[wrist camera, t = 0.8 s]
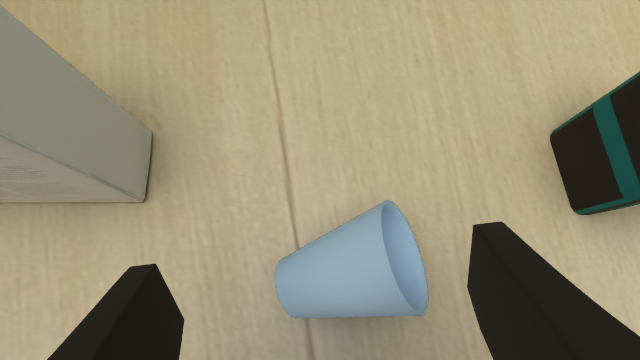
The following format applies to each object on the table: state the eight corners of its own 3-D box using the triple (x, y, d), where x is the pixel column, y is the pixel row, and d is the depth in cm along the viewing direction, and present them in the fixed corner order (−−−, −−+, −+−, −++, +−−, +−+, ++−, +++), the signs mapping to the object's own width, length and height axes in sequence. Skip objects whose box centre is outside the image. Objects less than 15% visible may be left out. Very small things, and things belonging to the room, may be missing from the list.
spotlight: (390, 217, 26) (281, 247, 26) (421, 183, 16) (248, 230, 16) (415, 298, 25) (302, 330, 25) (464, 312, 15) (279, 363, 15)
